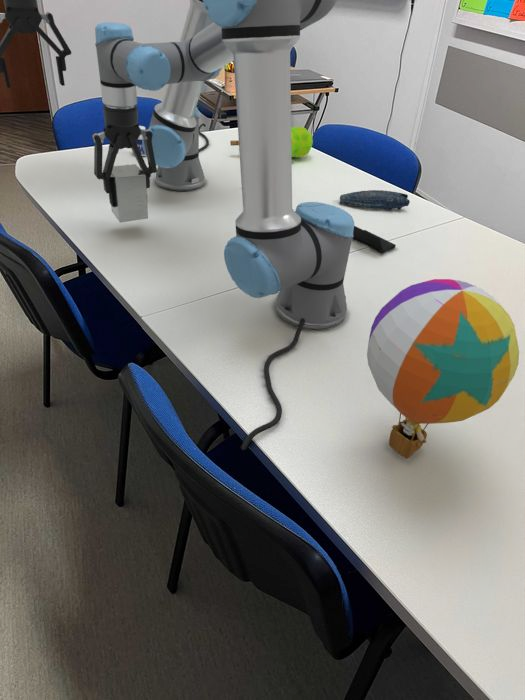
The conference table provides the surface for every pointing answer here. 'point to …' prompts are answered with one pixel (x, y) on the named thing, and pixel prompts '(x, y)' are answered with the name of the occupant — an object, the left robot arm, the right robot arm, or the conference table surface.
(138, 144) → the pill bottle
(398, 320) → the toy
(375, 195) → the fish model
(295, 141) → the decorative tree
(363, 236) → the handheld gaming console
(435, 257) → the conference table surface
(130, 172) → the metal block
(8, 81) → the left robot arm
